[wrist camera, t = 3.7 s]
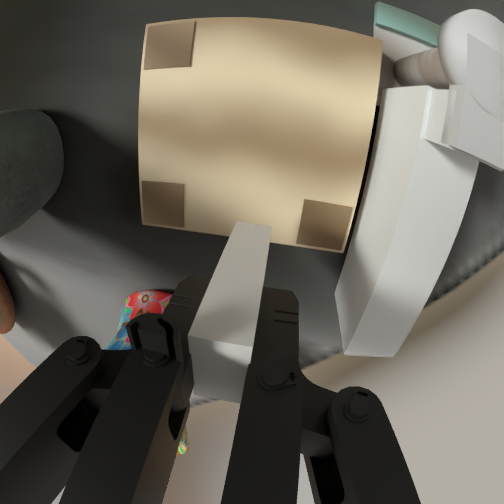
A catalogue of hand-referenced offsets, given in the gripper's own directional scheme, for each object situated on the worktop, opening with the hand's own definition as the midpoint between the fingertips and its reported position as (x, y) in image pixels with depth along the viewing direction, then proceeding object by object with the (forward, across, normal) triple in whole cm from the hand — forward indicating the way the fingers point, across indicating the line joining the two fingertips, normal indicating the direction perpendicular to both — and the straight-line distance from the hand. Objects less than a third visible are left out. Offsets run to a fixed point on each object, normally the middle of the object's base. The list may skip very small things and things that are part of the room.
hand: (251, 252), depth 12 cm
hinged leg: (+5, +7, +3) cm, 9 cm away
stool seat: (+5, +7, +7) cm, 11 cm away
